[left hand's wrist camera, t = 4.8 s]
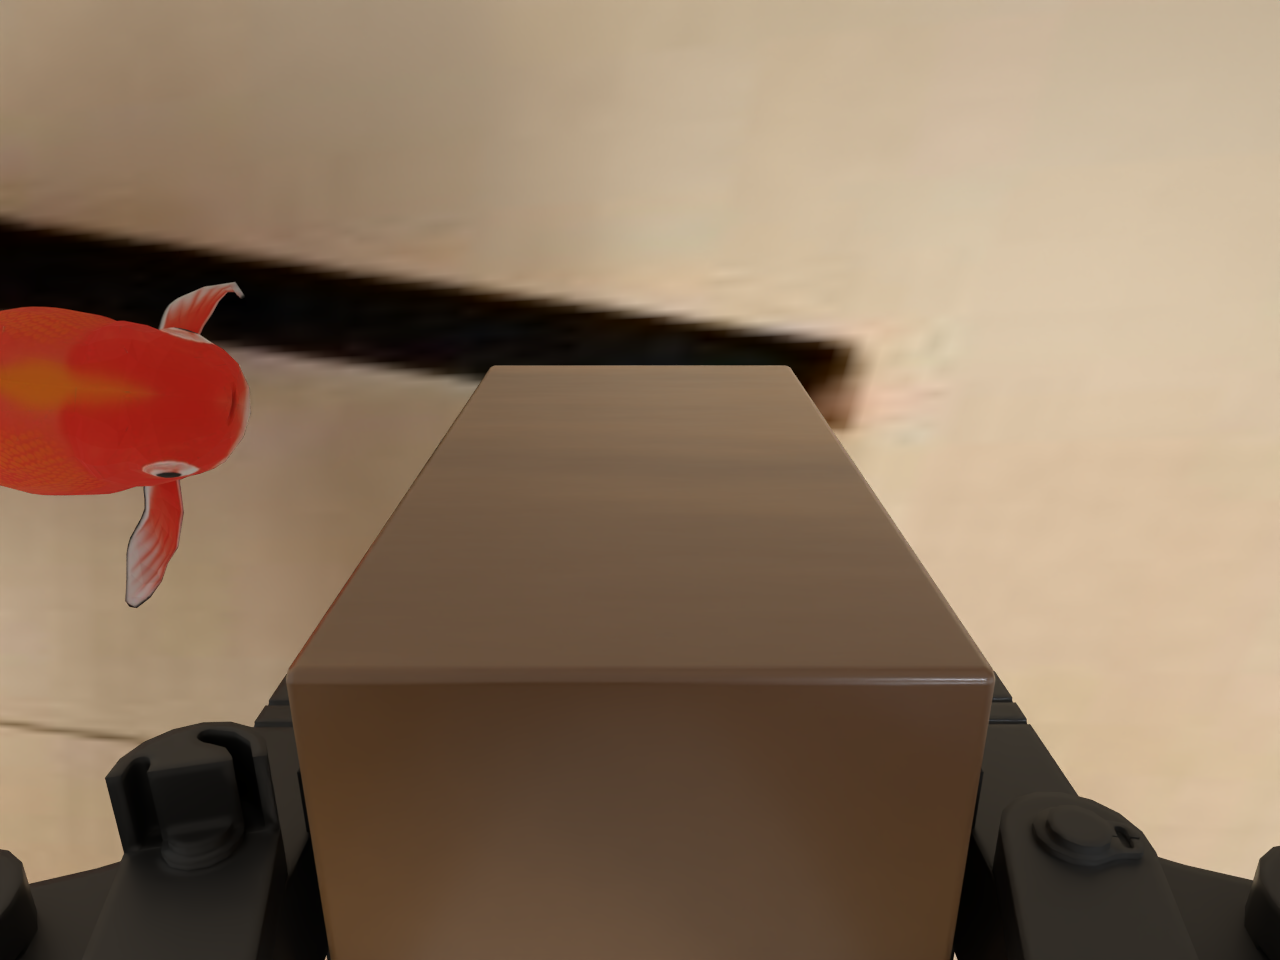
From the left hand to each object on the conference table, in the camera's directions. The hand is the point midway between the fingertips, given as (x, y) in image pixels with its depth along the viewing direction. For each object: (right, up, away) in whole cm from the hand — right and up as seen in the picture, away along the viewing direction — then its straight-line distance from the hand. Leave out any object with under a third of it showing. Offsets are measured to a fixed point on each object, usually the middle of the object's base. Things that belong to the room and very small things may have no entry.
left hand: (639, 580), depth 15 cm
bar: (0, -7, +3) cm, 8 cm away
